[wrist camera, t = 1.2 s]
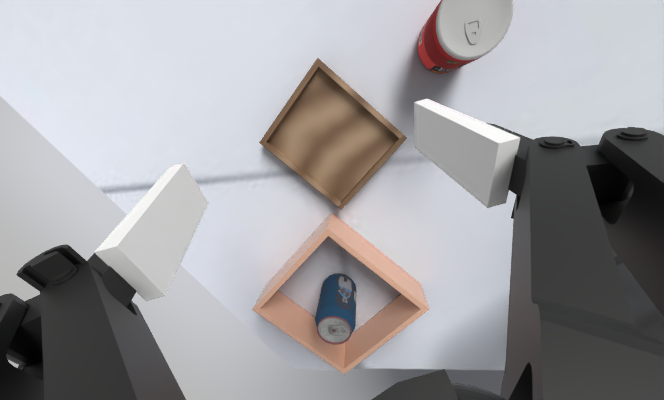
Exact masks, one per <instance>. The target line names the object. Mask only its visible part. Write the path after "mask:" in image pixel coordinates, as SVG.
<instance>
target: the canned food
mask: <svg viewBox="0 0 664 400" xmlns="http://www.w3.org/2000/svg"><path fill="white" fill-rule="evenodd" d="M512 15H513V0H441V1H440V3H439V4H438V6H437V7H436V9H435V10H434V12H433V13H432V15H431V16H430V17H429V19H428V20H427V22H426V23H425V25H424V26H423V28H422V30H421V32H420V35H419V39H418V54H419V57H420V60H421V62H422V63H423V65H424V66H425V67H426V68H427V69H429V70H430V71H432V72H435V73H448V72H451V71H453V70H455V69H457V68H460V67H462V66H464V65H466V64H468V63H470V62H472V61H475V60H477V59H478V58H480V57H482V56H484V55H486V54H487V53H489V52H490V51H491V50H492V49H494V48H495V47H496V46H497V45H498V44H499V43H500V42H501V40H502V39H503V38H504V36H505V34H506V33H507V31H508V28H509V26H510V23H511V19H512Z"/></svg>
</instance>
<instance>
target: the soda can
mask: <svg viewBox="0 0 664 400" xmlns="http://www.w3.org/2000/svg"><path fill="white" fill-rule="evenodd" d="M355 318H356V286H355V283H354V282H353V280H352V279H351V278H349V277H348V276H347V275H344V274H334V275H331V276H329V277H328V278H327V279H326V280H325V281H324V283H323V286H322V290H321V295H320V299H319V304H318V308H317V313H316V317H315V324H316V327H317V333H318V335H319V337H320V338H321V339H322V340H323V341H325V342H326V343H329V344H333V345H338V344H343V343H345V342H346V341H348V340H349V338H350V337H351V334H352V332H353V331H354V329H355Z"/></svg>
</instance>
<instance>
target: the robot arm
mask: <svg viewBox="0 0 664 400" xmlns="http://www.w3.org/2000/svg"><path fill="white" fill-rule="evenodd" d="M414 124H415V148H416V149H417V150H418V151H420V152H421V153H422V154H423V155H424V156H426V157H427V158H428V159H429V160H430V161H432V162H433V163H434V164H435V165H437V166H438V167H439V168H440V169H441V170H443V171H444V172H445V173H446V174H447V175H449V176H450V177H451V178H452V179H453V180H455V181H456V182H457V183H458V184H459V185H461V186H462V187H463V188H464V189H465V190H467V191H468V192H469V193H470V194H471V195H473V196H474V197H475V198H476V199H477V200H479V201H480V202H481V203H482V204H483V205H485V206H486V207H487V208H489V207H492V206H496V205H500V204H503V203H506V200H507V195H508V191H509V190H510V191H512V192H513V193H515V194H516V195H517V196H516V200H515V204H514V208H513V212H512V216H511V218H513V219H514V224H513V242H512V260H511V277H510V295H509V313H508V331H507V349H506V364H505V372H504V377H503V382H502V388H501V396H499V395H496V394H494V393H492V392H489V391H487V390H484V389H480V388H477V387H474V386H470V385H464V384H459V383H458V384H457V383H451V382H450V380H449V378H448V376H447V374H446V372H445V369H443V370H440V371H436V372H433V373H429V374H426V375H422V376H419V377H415V378H412V379H409V380H405V381H401V382H398V383H396V384H394V385H393V386H391V387H390V388H388V389H387V390H385V391H384V392H382V393H381V394H380V395H378V396H377V397H375V398H374V399H372V400H664V136H663V135H662V134H659V133H657V132H654V131H650V130H645V129H644V128H636V127H628V128H619V129H611V130H609V131H606V132H605V133H604V134H603V136H602V138H601V140H600V143H599V145H591V146H580V145H579V144H578V143H577V142H576V141H574V140H571V139H568V138H563V137H541V138H536V139H534V140H532V139H530V138H527V137H525V136H522V135H520V134H517V133H515V132H512V131H510V130H507V129H504V128H502V127H500V126H497V125H495V124H489V123H484V122H482V121H480V120H477V119H475V118H472V117H470V116H468V115H465V114H463V113H460V112H458V111H456V110H453V109H451V108H448V107H446V106H444V105H441V104H439V103H436V102H434V101H432V100H429V99H424V100H420V101H416V102H414ZM207 205H208V202H207V200H206V198H205V197H204V195H203V193H202V192H201V190H200V188H199V187H198V185H197V183H196V182H195V180H194V179H193V177H192V175H191V174H190V172H189V170H188V169H187V167H186V165H185V164H184V163H182V164H178V165H174V166H171V167H170V168H169V169H168V170H167V171H166V172H165V173H164V174H163V175H162V177H161V178H160V179H159V180H158V181H157V182H156V183H155V184H154V186H153V187H152V188H151V189H150V190H149V191H148V192H147V193H146V195H145V196H144V197H143V198H142V199H141V200H140V201H139V202H138V203H137V205H136V206H135V207H134V208H133V209H132V210H131V211H130V212H129V214H128V215H127V216H126V217H125V218H124V219H123V220H122V221H121V223H120V224H119V225H118V226H117V227H116V228H115V229H114V230H113V232H112V233H111V234H110V235H109V236H108V237H107V238H106V239H105V241H104V242H103V243H102V244H101V245H100V246H99V247H98V249H97V250H96V251H95V252H94V254H93V255H92V256H91V258H90V259H89V260H88V261H86V260H85V259H84V258H82V257H81V256H80V255H79V254H78V253H77V252H76V251H74V250H73V249H72V248H71V247H70V246H69V245H60V246H57V247H54V248H52V249H50V250H47V251H45V252H43V253H42V254H40V255H38V256H36V257H35V258H33V259H32V260H30V261H29V262H28V263H26V264H25V265H24V266H23V267H22V268H21V269H20V270H19V271H18V273H17V275H18V276H19V277H20V278H22V279H23V280H24V281H26V282H28V283H29V284H30V285H32V286H33V287H35V288H36V289H37V290H39V291H40V295H38V296H36V297H34V298H32V299H29V300H27V301H25V302H24V301H23V300H21V299H20V298H18V297H17V296H15V295H13V294H5V295H2V296H0V400H186V399H185V397H184V395H183V393H182V391H181V389H180V387H179V385H178V383H177V381H176V379H175V378H174V376H173V374H172V372H171V370H170V368H169V366H168V364H167V362H166V360H165V358H164V356H163V354H162V352H161V351H160V349H159V347H158V345H157V343H156V341H155V339H154V337H153V335H152V333H151V331H150V329H149V327H148V325H147V324H146V322H145V320H144V318H143V316H142V314H141V312H140V310H139V308H138V306H137V305H135V304H134V303H133V302H132V301H131V300H132V298H133V296H134V294H135V293H136V292H137V293H138V294H139V295H140V296H141V297H142V298H143V299H144V300H146V301H149V300H152V299H156V298H160V297H163V296H166V294H167V291H168V289H169V287H170V285H171V283H172V281H173V279H174V276H175V274H176V272H177V270H178V268H179V266H180V263H181V261H182V259H183V257H184V255H185V253H186V250H187V248H188V246H189V244H190V242H191V240H192V237H193V235H194V233H195V231H196V229H197V227H198V224H199V222H200V220H201V218H202V216H203V214H204V211H205V209H206V207H207ZM8 360H10V361H12V362H14V363H16V364H19V366H18V368H16V367H14V366H13V365H11V364H10V363H9V362H8Z"/></svg>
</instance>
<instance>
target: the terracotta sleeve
mask: <svg viewBox="0 0 664 400" xmlns="http://www.w3.org/2000/svg"><path fill="white" fill-rule="evenodd" d="M328 236H329V237H330V238H331V239H333V240H334V241H335V242H336V243H338V244H339V245H340V246H342V247H343V248H344V249H345V250H347V251H348V252H349V253H350V254H352V255H353V256H354V257H355V258H357V259H358V260H359V261H361V262H362V263H363V264H364V265H366V266H367V267H368V268H369V269H371V270H372V271H373V272H375V273H376V274H377V275H378V276H380V277H381V278H382V279H383V280H385V281H386V282H387V283H388V284H390V285H391V286H392V287H394V288H395V289H396V290H397V291H399V292H400V293H401V294H400V295H399V296H398V297H397V298H395V299H394V300H393V301H392V302H391V303H389V304H388V305H387V306H386V307H385V308H383V309H382V310H381V311H380V312H379V313H377V314H376V315H375V316H374V317H373V318H371V319H370V320H369V321H368V322H367V323H365V324H364V325H363V326H362V327H361V328H359V329H358V330H357V331H356V332H355V333H353V334H352V335H351V337H350V338H349V340H348V341H346V342H345V343H343V344H338V345H333V344H329V343H326V342H325V341H323V340H322V339H321V338H320V337H319V335H318V333H317V327H316V324H315V317H314V316H312V315H311V314H309V313H308V312H307V311H305V310H304V309H303V308H301V307H300V306H299V305H297V304H296V303H294V302H293V301H292V300H290V299H289V298H288V297H286V296H285V295H283V294H282V293H281V292H279V291H278V289H279V288H280V287H281V286H282V285H283V284H284V283H285V282H286V281H287V279H288V278H289V277H290V276H291V275H292V274H293V273H294V272H295V271H296V270H297V269H298V268H299V267H300V266H301V264H302V263H303V262H304V261H305V260H306V259H307V258H308V257H309V256H310V255H311V254H312V253H313V252H314V251H315V250H316V248H317V247H318V246H319V245H320V244H321V243H322V242H323V241H324V240H325V239H326V238H327V237H328ZM252 310H254V311H255V312H257V313H258V314H259V315H261V316H262V317H264V318H265V319H266V320H268V321H269V322H271V323H272V324H274V325H275V326H276V327H278V328H279V329H281V330H282V331H283V332H285V333H286V334H288V335H289V336H291V337H292V338H293V339H295V340H296V341H298V342H299V343H300V344H302V345H303V346H305V347H306V348H307V349H309V350H310V351H312V352H313V353H315V354H316V355H317V356H319V357H320V358H322V359H323V360H324V361H326V362H327V363H329V364H330V365H331V366H333V367H334V368H336V369H337V370H339V371H340V372H341V373H343V374H345V373H347V372H348V371H349V370H351V369H352V368H353V367H355V366H356V365H357V364H359V363H360V362H361V361H362V360H364V359H365V358H366V357H368V356H369V355H370V354H372V353H373V352H374V351H376V350H377V349H378V348H379V347H381V346H382V345H383V344H385V343H386V342H387V341H389V340H390V339H391V338H393V337H394V336H395V335H396V334H398V333H399V332H400V331H402V330H403V329H404V328H406V327H407V326H408V325H409V324H411V323H412V322H413V321H415V320H416V319H417V318H419V317H420V316H421V315H423V314H424V313H425V312H426V311H428V310H429V306H428V304H427V301H426V298H425V295H424V292H423V289H422V287H421V284H420V283H419V282H418V281H416V280H415V279H414V278H413V277H412V276H410V275H409V274H408V273H407V272H405V271H404V270H403V269H402V268H400V267H399V266H398V265H397V264H395V263H394V262H393V261H392V260H390V259H389V258H388V257H387V256H385V255H384V254H383V253H382V252H380V251H379V250H378V249H377V248H376V247H374V246H373V245H372V244H371V243H369V242H368V241H367V240H366V239H364V238H363V237H362V236H361V235H359V234H358V233H357V232H356V231H354V230H353V229H352V228H351V227H349V226H348V225H347V224H346V223H345V222H343V221H342V220H341V219H340V218H338V217H337V216H336V215H335V214H333V213H331V214H330V215H329V216H328V217H327V218H326V220H325V221H324V222H323V223H322V224H321V225H320V226H319V227H318V228H317V230H316V231H315V232H314V233H313V234H312V235H311V236H310V237H309V238H308V239H307V241H306V242H305V243H304V244H303V245H302V246H301V247H300V248H299V249H298V251H297V252H296V253H295V254H294V255H293V256H292V257H291V258H290V259H289V261H288V262H287V263H286V264H285V265H284V266H283V267H282V268H281V269H280V270H279V272H278V273H277V274H276V275H275V276H274V277H273V278H272V279H271V280H270V282H269V283H268V284H267V285H266V286H265V288H264V290H263V291H262V293H261V295H260V297H259V298H258V300H257V302H256V304H255V306H254V307H253V309H252Z"/></svg>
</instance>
